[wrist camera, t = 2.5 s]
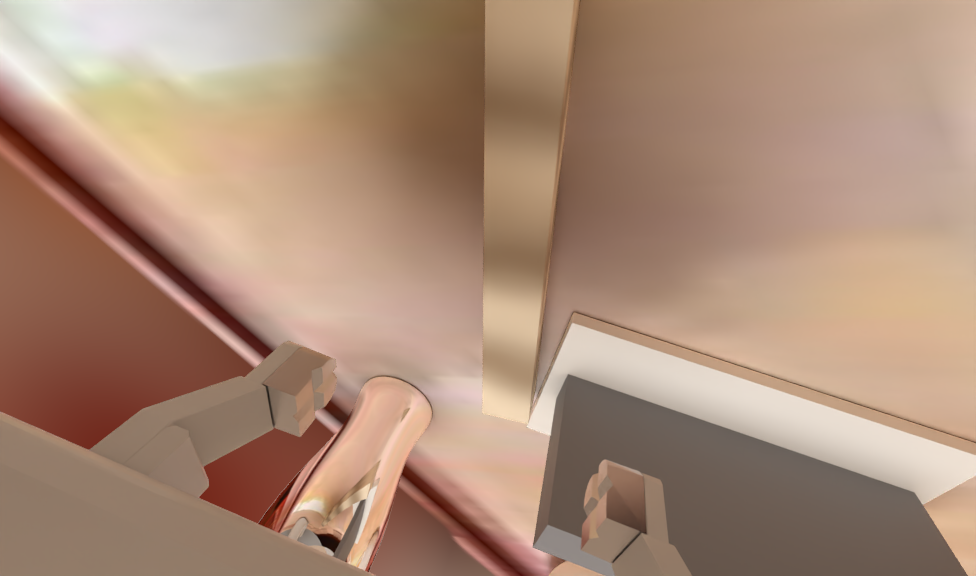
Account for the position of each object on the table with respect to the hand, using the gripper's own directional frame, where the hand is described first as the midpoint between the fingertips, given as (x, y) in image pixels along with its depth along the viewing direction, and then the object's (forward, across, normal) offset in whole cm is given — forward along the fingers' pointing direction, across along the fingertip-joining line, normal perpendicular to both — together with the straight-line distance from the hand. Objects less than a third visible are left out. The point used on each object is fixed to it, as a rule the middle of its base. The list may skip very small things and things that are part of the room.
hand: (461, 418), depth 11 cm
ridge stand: (+12, -14, +8) cm, 21 cm away
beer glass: (+12, +7, +17) cm, 22 cm away
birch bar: (+12, +1, -1) cm, 12 cm away
